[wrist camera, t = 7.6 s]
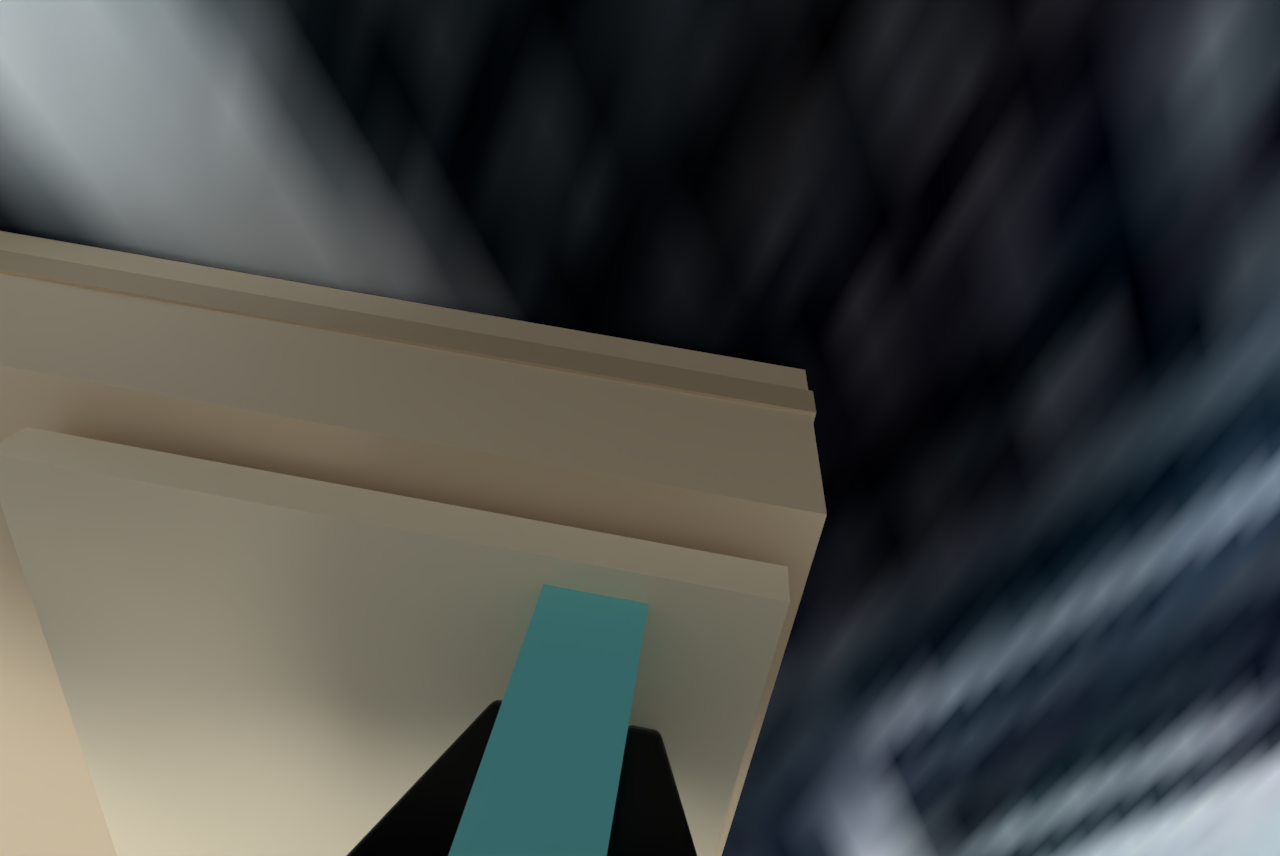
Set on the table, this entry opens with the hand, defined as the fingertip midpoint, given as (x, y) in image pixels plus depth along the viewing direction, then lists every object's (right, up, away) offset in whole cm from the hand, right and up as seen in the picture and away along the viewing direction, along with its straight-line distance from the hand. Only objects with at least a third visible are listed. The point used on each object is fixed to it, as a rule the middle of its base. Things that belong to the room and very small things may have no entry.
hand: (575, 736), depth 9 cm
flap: (-3, -3, +3) cm, 6 cm away
